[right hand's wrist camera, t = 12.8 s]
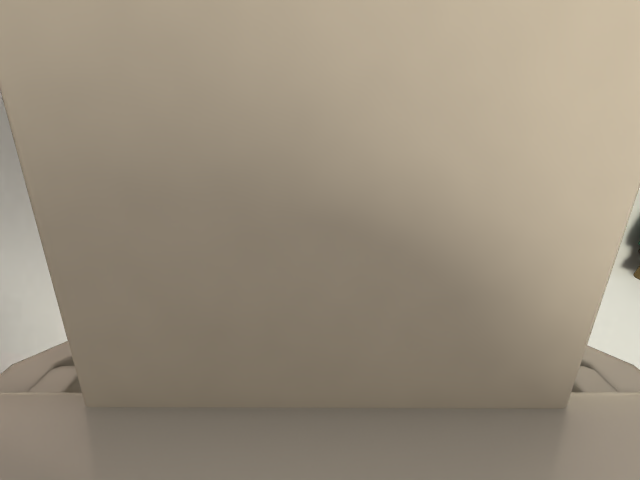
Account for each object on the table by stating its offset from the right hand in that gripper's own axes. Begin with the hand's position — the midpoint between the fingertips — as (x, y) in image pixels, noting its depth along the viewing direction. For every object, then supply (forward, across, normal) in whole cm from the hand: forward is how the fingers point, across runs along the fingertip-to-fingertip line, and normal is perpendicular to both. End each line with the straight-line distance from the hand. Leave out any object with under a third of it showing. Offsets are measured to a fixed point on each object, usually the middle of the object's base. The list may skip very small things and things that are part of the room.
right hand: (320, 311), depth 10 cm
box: (+4, 0, -10) cm, 10 cm away
